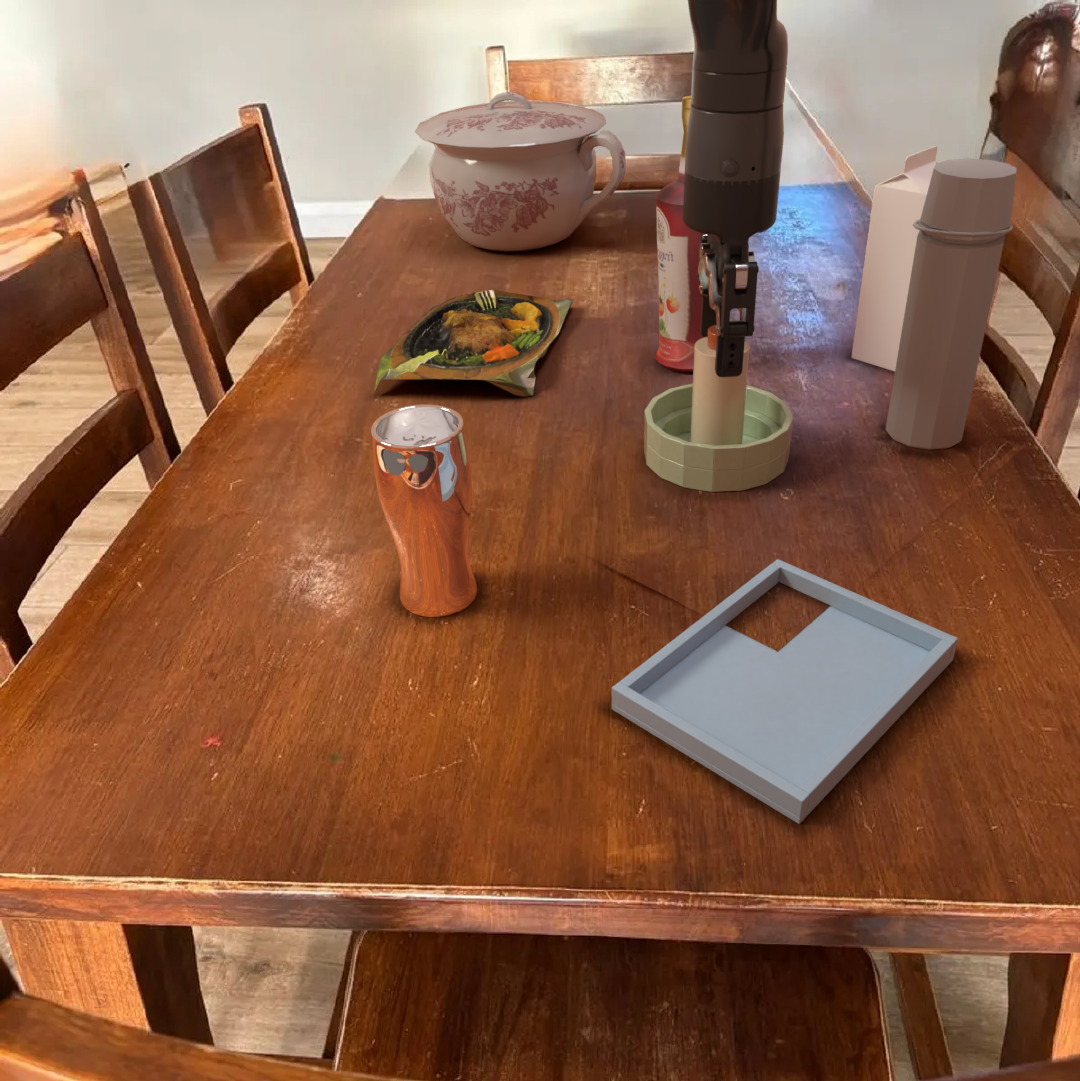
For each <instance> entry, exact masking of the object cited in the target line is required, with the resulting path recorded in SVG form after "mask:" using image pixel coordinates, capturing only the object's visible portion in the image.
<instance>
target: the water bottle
mask: <svg viewBox="0 0 1080 1081" xmlns="http://www.w3.org/2000/svg"><path fill="white" fill-rule="evenodd" d="M1017 169H1018V168H1017V167H1016V166H1014V165H1013V164H1010V163H1007V162H1003V161H999V160H993V159H986V158H985V159H984V158H969V157H968V158H957V159H956V158H955V159H946V160H943V161H940V162H937V163H936V165H935V167H934V169H933V173H932V177H931V181H930V184H929V188H928V192H927V196H926V200H925V203H924V207H923V211H922V215H921V218H920V219H919V220H916V221H915V222H914V223H913V226H914V227H915V229H918V230H920V231H919V233H918V236H917V241H916V247H915V253H914V259H913V265H912V272H911V278H910V284H909V290H908V296H907V302H906V308H905V314H904V320H903V326H902V332H901V338H900V344H899V350H898V357H897V363H896V369H895V372H894V376H893V381H892V388H891V394H890V399H889V406H888V412H887V418H886V423H885V432H886V433H887V434H888V435H889V436H890V437H891V438H892V440H893V441H895V442H897V443H900V444H902V445H904V446H906V447H909V448H913V449H919V450H920V449H921V450H926V451H932V450H944V449H949V448H952V447H953V446H956V445H957V444H959V443H961V442H962V441H963V437H964V431H965V426H966V422H967V417H968V413H969V408H970V403H971V400H972V394H973V390H974V385H975V381H976V377H977V372H978V367H979V361H980V357H981V352H982V347H983V343H984V338H985V333H986V329H987V324H988V319H989V314H990V311H991V305H992V300H993V296H994V291H995V286H996V281H997V276H998V273H999V269H1000V268H999V267H1000V264H1001V258H1002V254H1003V249H1004V245H1005V241H1006V235H1008V233H1010V232H1011V231H1012V230H1013V229H1014V226H1013V225H1012V224H1011V221H1012V213H1013V205H1014V196H1015V188H1016V187H1015V186H1016V179H1017V172H1018V171H1017ZM917 224H918V225H917Z"/></svg>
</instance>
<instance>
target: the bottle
mask: <svg viewBox="0 0 1080 1081" xmlns="http://www.w3.org/2000/svg"><path fill="white" fill-rule="evenodd" d="M716 343H717V332H716V325H713V326H711V327H709V329H708V337H704V338H702V339H700V340H698V341H697V342H696V343H695V346H694V367H693V372H692V383H693V390H692V413H691V436H690V442H694V443H701V444H708V445H715V446H717V445H739V444H742V443H743V430H744V417H745V404H746V390H747V385H748V374H749V362H750V351H751V350H750V349H751V347H750V343H749V342H748V341H747V340H745V343H744V355H743V368H742V373H741V375H739V376H737V377H719V376H717V374H716V372H715V358H716Z"/></svg>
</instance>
